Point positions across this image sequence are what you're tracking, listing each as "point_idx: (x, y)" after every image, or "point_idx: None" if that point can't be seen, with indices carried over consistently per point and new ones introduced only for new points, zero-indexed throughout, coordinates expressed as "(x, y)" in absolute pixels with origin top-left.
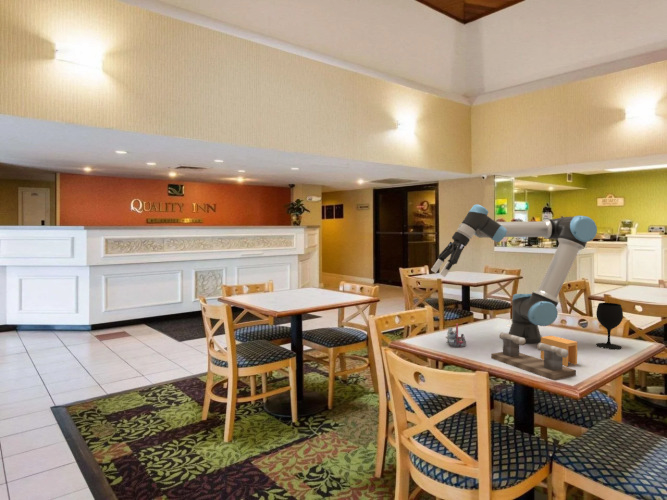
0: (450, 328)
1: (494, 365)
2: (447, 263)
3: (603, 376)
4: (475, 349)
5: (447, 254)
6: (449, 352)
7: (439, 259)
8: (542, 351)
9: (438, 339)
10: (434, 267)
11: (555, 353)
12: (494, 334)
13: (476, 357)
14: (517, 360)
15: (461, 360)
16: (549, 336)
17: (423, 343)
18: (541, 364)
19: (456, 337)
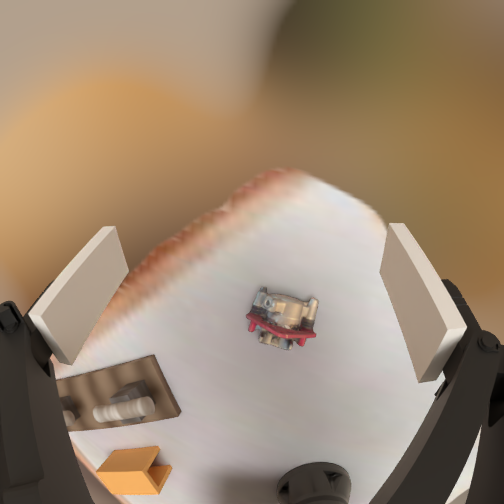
0: (271, 305)
1: (106, 333)
2: (39, 302)
3: (77, 456)
4: (232, 353)
5: (387, 488)
6: (206, 272)
7: (442, 338)
8: (149, 454)
9: (349, 285)
10: (399, 257)
11: None
12: (376, 446)
13: (160, 323)
14: (104, 381)
15: (139, 276)
16: (150, 486)
17: (306, 226)
18: (86, 405)
19: (260, 316)
